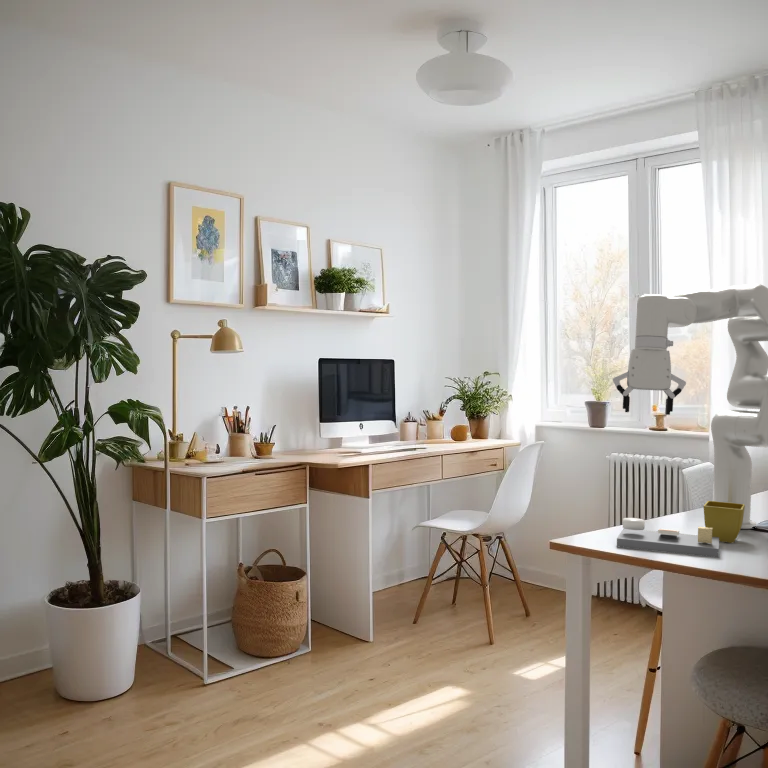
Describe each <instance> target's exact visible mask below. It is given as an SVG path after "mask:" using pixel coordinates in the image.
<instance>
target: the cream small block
mask: <svg viewBox="0 0 768 768" xmlns="http://www.w3.org/2000/svg"><path fill="white" fill-rule="evenodd" d="M697 535H698V542H703V543H712V528H708V527H705V526H698V527H697Z"/></svg>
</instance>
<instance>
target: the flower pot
mask: <svg viewBox="0 0 768 768" xmlns="http://www.w3.org/2000/svg"><path fill="white" fill-rule="evenodd" d="M702 507H703V518H704V527H708V528H712V537H719V543H720V542H721V543H727V544H728V543H729V544H734V543H735V542H736V539H737V538H738V535H739V534H740V531H741V530H742V529H741V527H742V522H743V516H744V509H745V504H738V503H728V502H717V501H713V500H707V501H706V503H704V504H703V506H702Z"/></svg>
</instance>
